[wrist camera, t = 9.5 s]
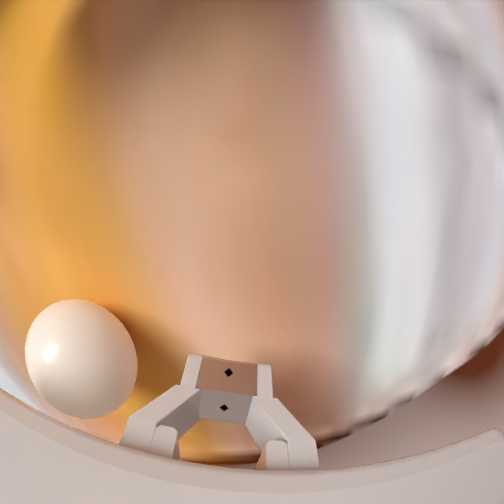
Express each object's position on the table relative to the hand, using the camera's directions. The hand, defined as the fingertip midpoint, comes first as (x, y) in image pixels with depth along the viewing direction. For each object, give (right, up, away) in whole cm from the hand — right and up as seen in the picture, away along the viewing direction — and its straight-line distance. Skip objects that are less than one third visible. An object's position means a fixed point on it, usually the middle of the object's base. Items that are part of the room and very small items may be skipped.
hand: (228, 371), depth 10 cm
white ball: (-7, 0, 0) cm, 7 cm away
